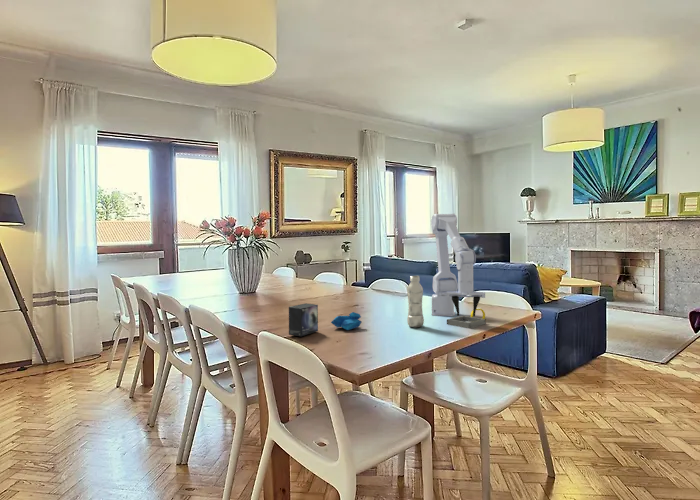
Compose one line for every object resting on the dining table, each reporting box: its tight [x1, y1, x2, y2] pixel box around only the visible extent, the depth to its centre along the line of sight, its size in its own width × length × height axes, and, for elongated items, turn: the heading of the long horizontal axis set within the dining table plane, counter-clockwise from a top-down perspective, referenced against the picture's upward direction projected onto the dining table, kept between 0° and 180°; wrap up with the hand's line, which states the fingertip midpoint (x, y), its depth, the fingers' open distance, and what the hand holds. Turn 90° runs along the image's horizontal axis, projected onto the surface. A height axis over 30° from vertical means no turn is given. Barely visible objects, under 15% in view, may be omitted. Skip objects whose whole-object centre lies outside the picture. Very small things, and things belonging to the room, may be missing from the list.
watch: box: [470, 306, 486, 319], centre depth 177 cm, size 6×3×6 cm, turn 104°
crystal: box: [330, 311, 362, 331], centre depth 170 cm, size 7×9×12 cm
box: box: [446, 315, 487, 330], centre depth 171 cm, size 11×11×2 cm
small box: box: [288, 303, 319, 337], centre depth 164 cm, size 11×6×10 cm, turn 148°
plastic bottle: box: [406, 275, 425, 328], centre depth 170 cm, size 6×7×20 cm
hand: (466, 315), depth 171 cm, fingers open, 5 cm apart
